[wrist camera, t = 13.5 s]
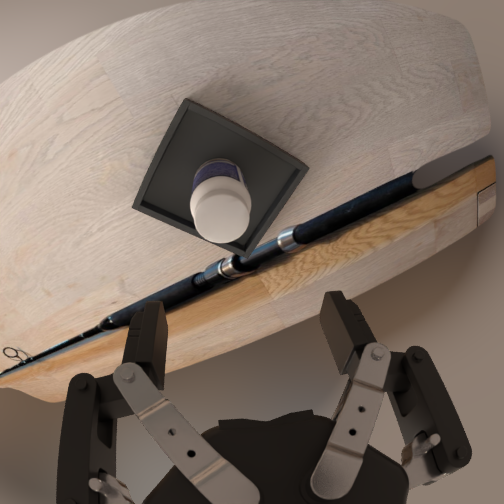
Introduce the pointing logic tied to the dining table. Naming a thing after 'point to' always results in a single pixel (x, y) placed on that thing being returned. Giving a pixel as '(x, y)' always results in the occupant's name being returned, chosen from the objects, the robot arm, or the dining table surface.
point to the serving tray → (213, 147)
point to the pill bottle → (220, 201)
